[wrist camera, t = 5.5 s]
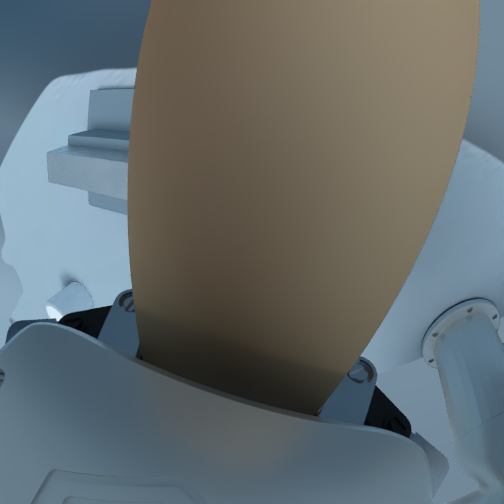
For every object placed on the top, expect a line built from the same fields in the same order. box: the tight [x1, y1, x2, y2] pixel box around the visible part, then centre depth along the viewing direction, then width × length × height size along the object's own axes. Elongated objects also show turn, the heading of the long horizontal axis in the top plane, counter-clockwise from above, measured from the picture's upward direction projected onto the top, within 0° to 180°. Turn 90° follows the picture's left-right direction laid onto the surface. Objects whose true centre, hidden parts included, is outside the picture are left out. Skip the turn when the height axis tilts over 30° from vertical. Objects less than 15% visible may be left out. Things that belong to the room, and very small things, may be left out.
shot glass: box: [44, 282, 93, 321], centre depth 39 cm, size 7×7×7 cm
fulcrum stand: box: [47, 89, 134, 215], centre depth 23 cm, size 14×14×8 cm
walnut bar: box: [127, 0, 480, 416], centre depth 10 cm, size 5×22×7 cm, turn 170°
